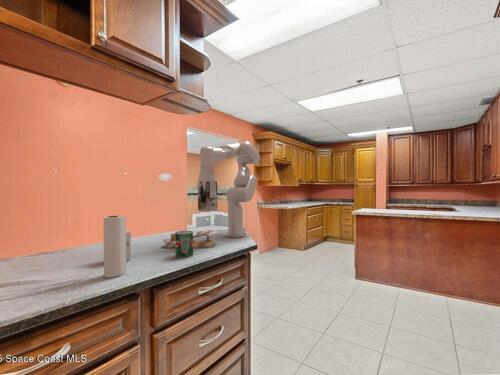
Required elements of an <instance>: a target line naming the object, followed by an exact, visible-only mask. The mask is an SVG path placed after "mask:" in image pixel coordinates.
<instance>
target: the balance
mask: <svg viewBox="0 0 500 375" xmlns="http://www.w3.org/2000/svg"><path fill="white" fill-rule="evenodd" d="M219 234H220V231H218V230H212V229H211V230H210V229H209V230H208V229H207V230H200V231H197V232H196V235H193V248H204V247H206V248H210V247H214V245H215V239H210V237H211V236H216V235H217V236H218V235H219ZM175 236H176V232H174V233H170V237H169V238H166V239H163V240H162V242H163V243H164V244H167V245H166V246H167V248H168V249H169V248H170V249H171V248H175V249H176V239H175V238H176V237H175ZM199 237H206V239H195V238H199Z"/></svg>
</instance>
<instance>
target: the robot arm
mask: <svg viewBox="0 0 500 375" xmlns="http://www.w3.org/2000/svg"><path fill="white" fill-rule="evenodd" d="M199 151H200V161H199V162H200V171H199V173H198V181H197V187H196V190H197V192H198V191H199V193H200V195H201V203H206V195H205V193H206V189H207V182H211V181H216V180H217V179H216V173H215V163H218V162H223V161H225V160H227V159H233V158H234V157H236V164H237V168H238V171H237V173H236V175H235V178H234V180H233V187H229V188H228V189H227V190H226V194H225V197H226V202H227V233H226V234H225V237H227V238H243V237H245V236H246V233H244V232H245V231H246V228H245V227H243V226H244V225H243V221H244V220H243V214H244V213H243V206H242V204H241V203H249V202H251V200H252V199H253V197H254V194H255V191H256V189H257V187H258V186H257V185H258V178H257V176H256V175H254V174H251V170H250V168H249V167H248V165H249V164H250V165H253V164H255V165H256V164H258V163H260V160H261V156H260V153H259V151H258V150H257V148H256V146H254V144H252V143H251V142H250V141H238V142H233V143H229V144H225V145H221V146H218V147H217V146H216V147H211V146H203V147H200V150H199ZM216 182H217V181H216ZM201 187H202V188H203V189H202V188H201ZM203 191H204V192H203Z"/></svg>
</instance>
